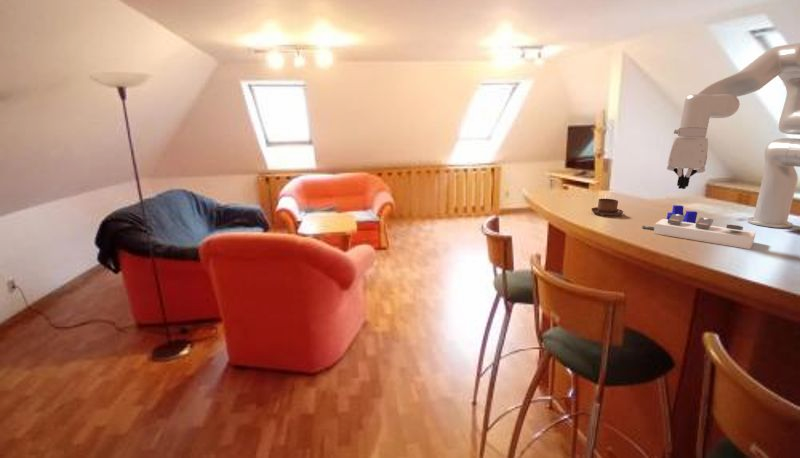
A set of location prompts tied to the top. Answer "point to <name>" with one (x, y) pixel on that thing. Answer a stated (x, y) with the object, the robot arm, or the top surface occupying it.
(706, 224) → the block
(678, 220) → the grey flat block
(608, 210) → the cup and saucer
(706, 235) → the power strip
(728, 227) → the grey rectangular block
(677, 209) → the cable clip
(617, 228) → the top surface
